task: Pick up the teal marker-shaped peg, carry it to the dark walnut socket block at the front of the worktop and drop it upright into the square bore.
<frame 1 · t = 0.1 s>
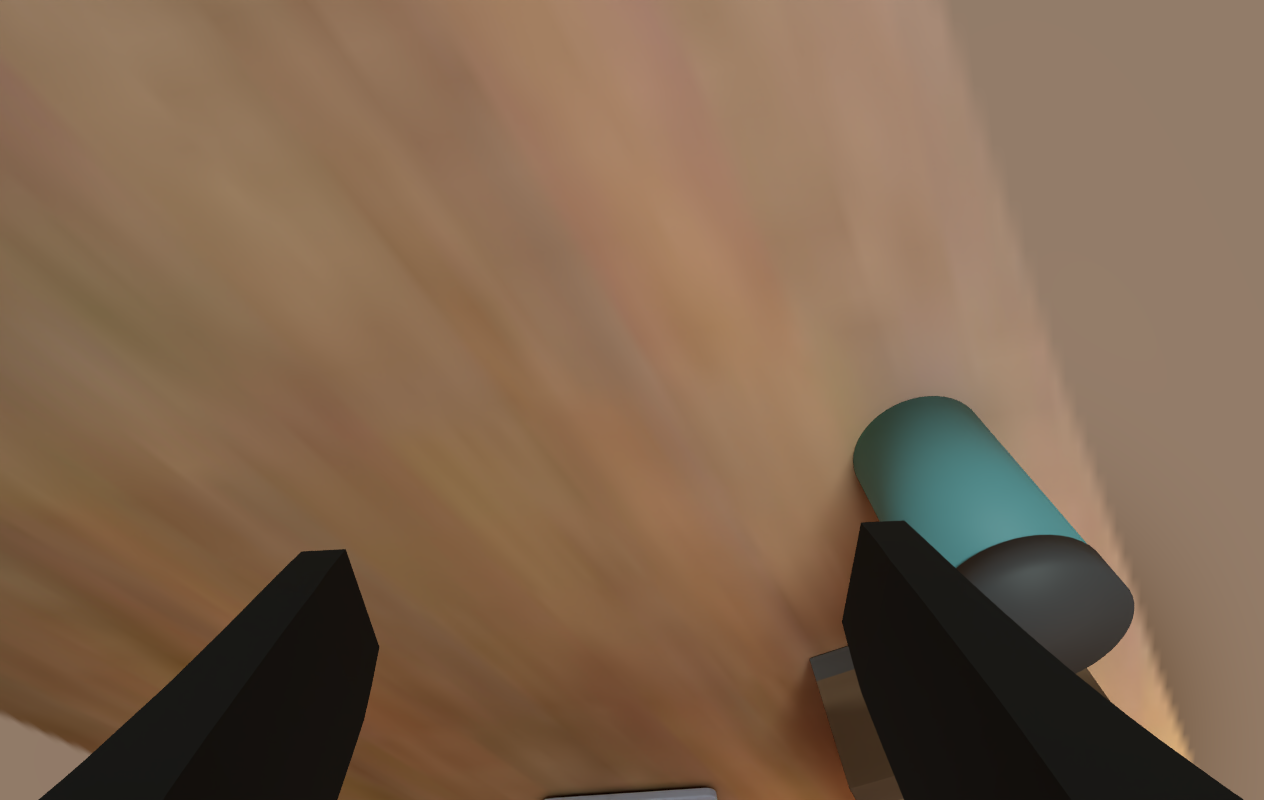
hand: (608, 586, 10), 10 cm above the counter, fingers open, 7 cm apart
socket: (939, 685, 28), on the counter
peg: (917, 450, 21), on the counter
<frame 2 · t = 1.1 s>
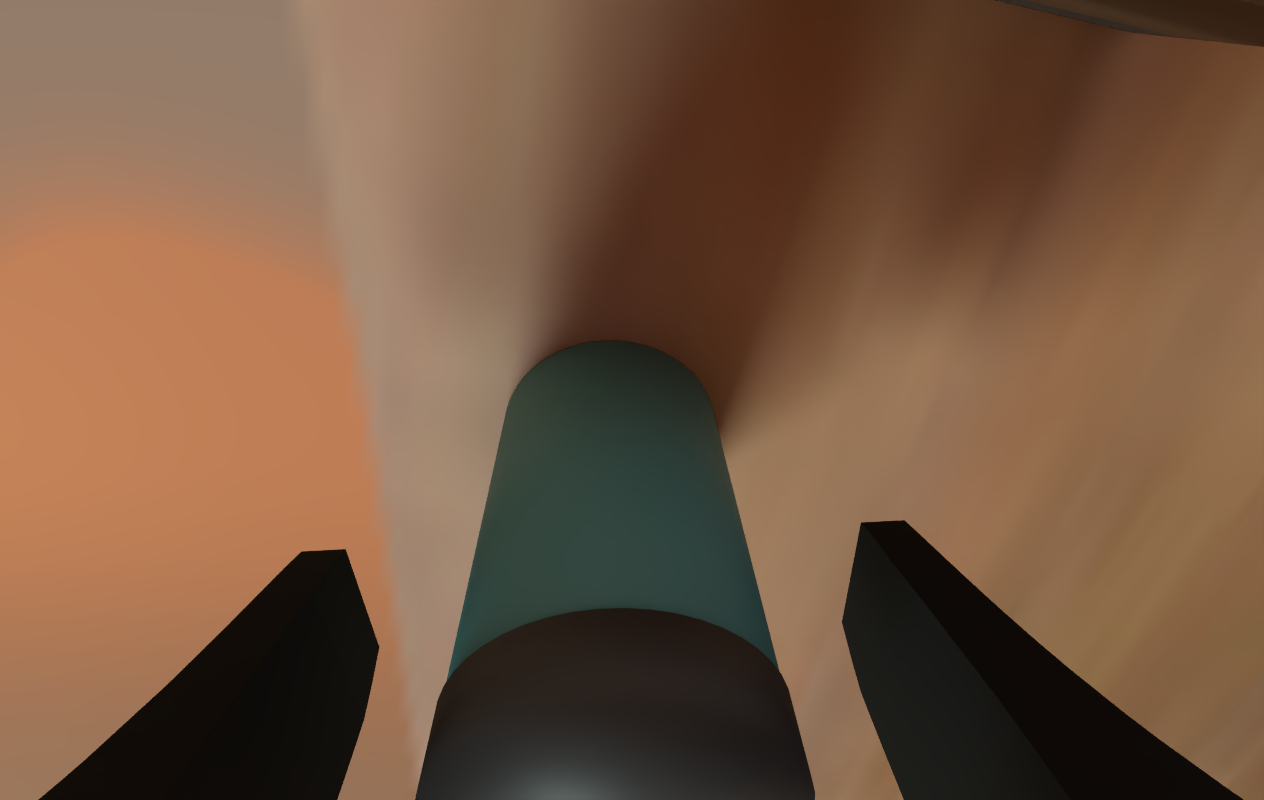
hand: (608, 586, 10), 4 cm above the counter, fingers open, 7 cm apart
peg: (610, 434, 13), on the counter
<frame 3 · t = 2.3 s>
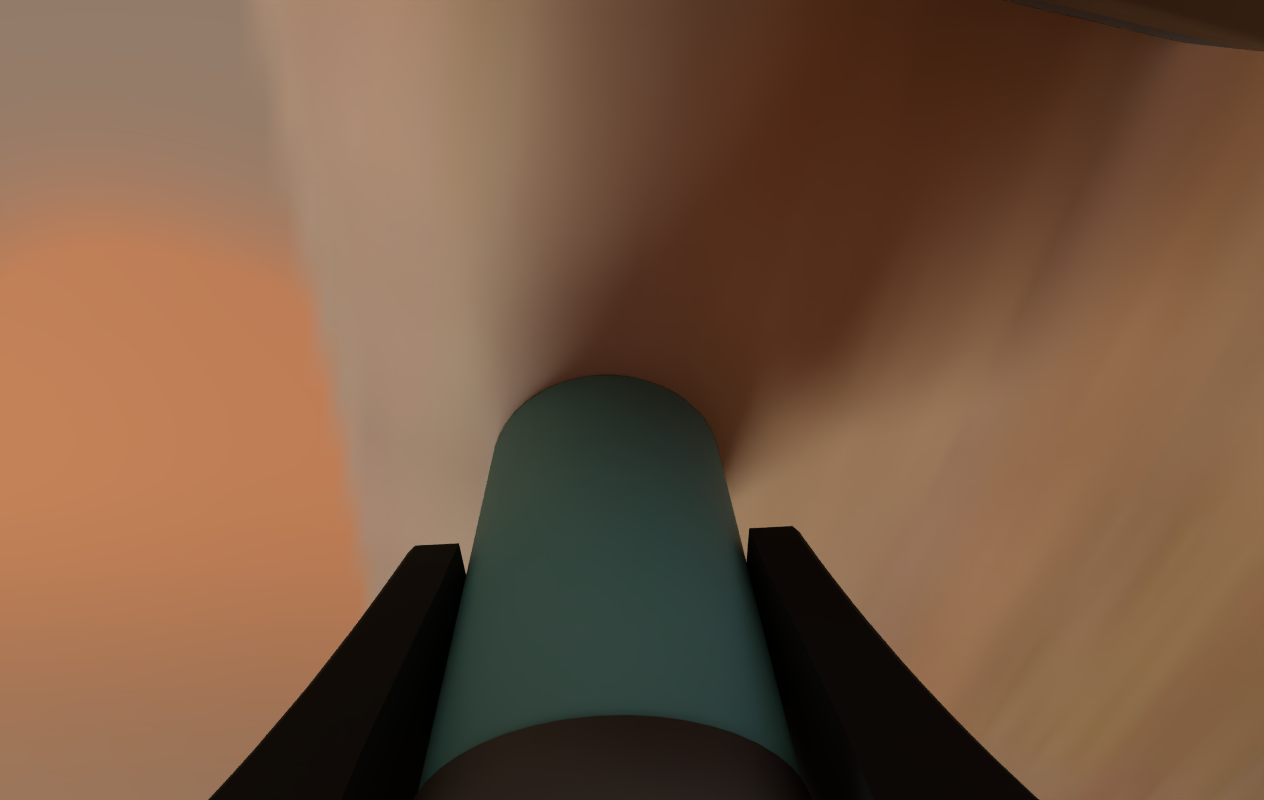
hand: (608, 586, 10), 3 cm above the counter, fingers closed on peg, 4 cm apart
peg: (606, 473, 12), on the counter, touching gripper
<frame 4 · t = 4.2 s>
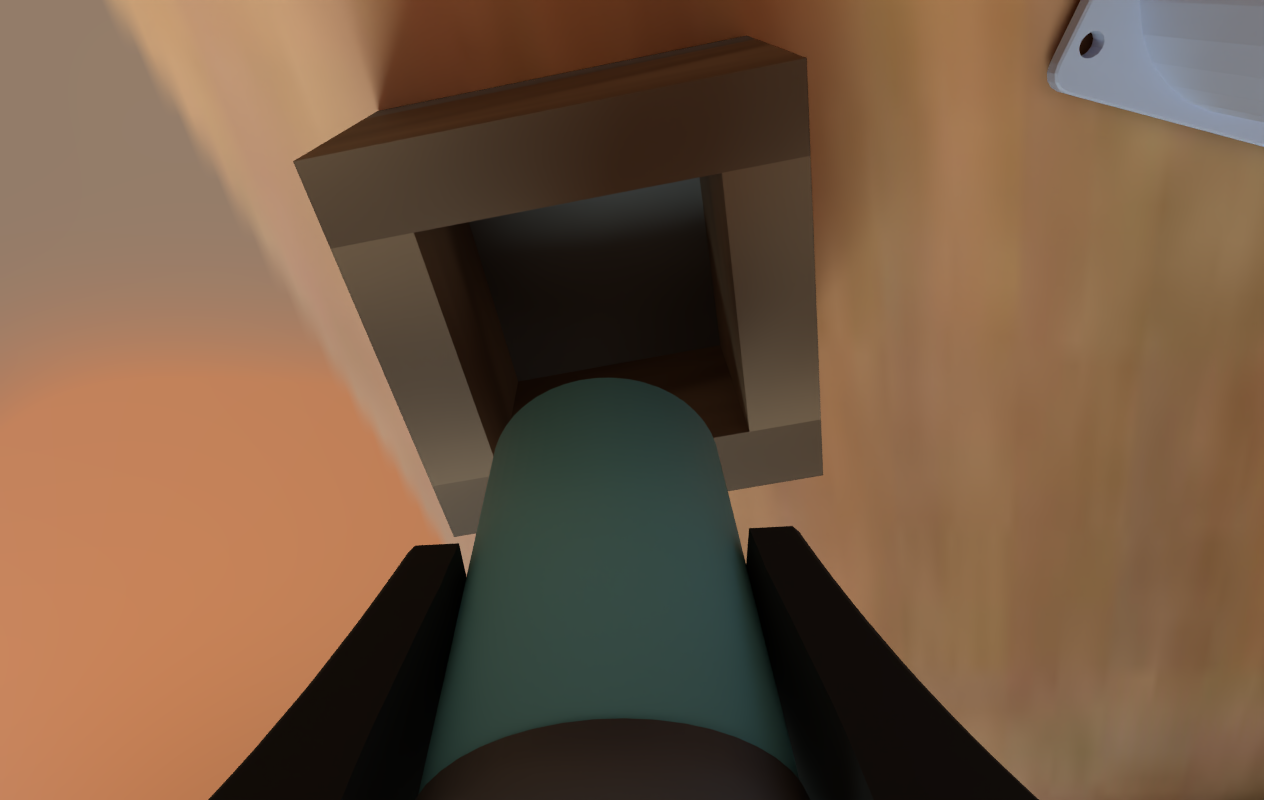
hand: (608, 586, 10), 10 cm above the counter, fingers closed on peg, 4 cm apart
socket: (597, 253, 17), on the counter
peg: (606, 475, 12), point 7 cm above the counter, touching gripper
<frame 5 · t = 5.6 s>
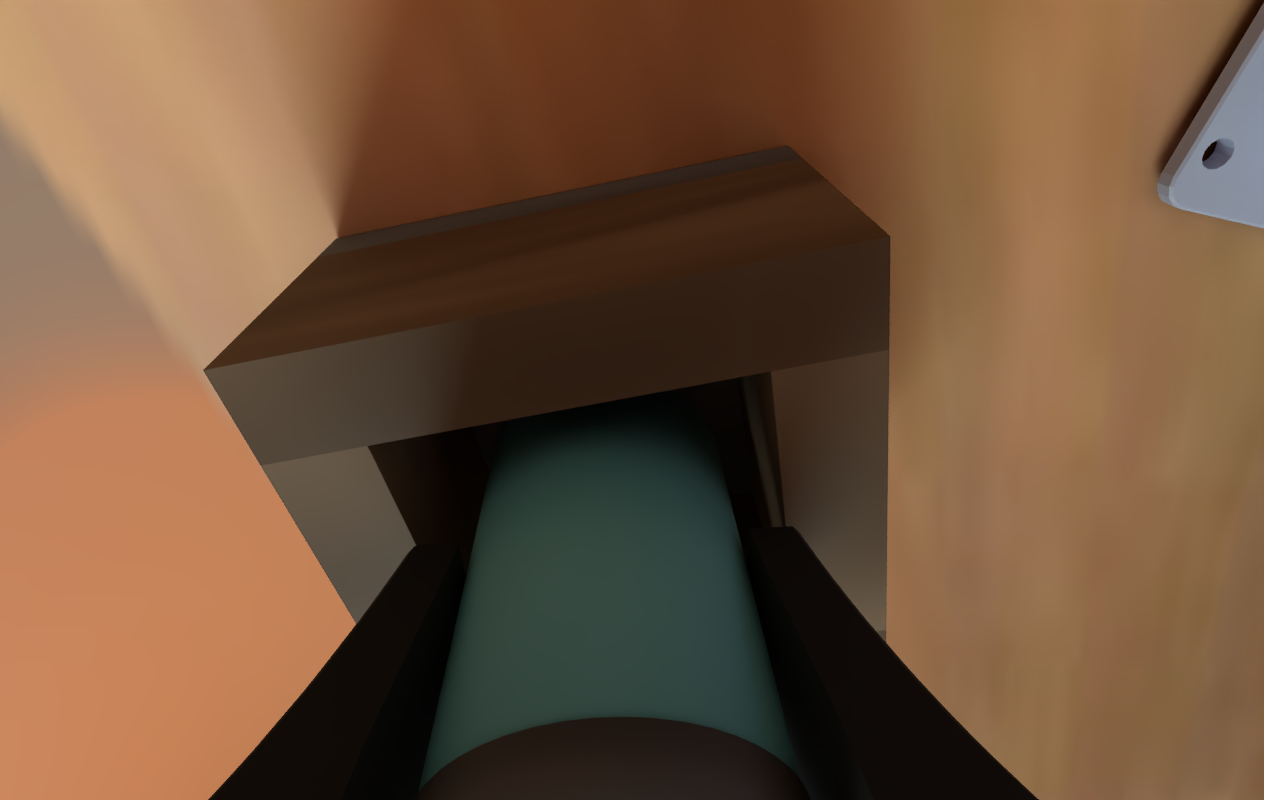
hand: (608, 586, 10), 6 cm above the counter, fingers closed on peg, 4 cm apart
socket: (605, 388, 15), on the counter
peg: (606, 474, 12), point 3 cm above the counter, touching gripper
when the fingers open (6 cm above the counter, at t = 6.5 s): peg drops 2 cm, resting on socket.
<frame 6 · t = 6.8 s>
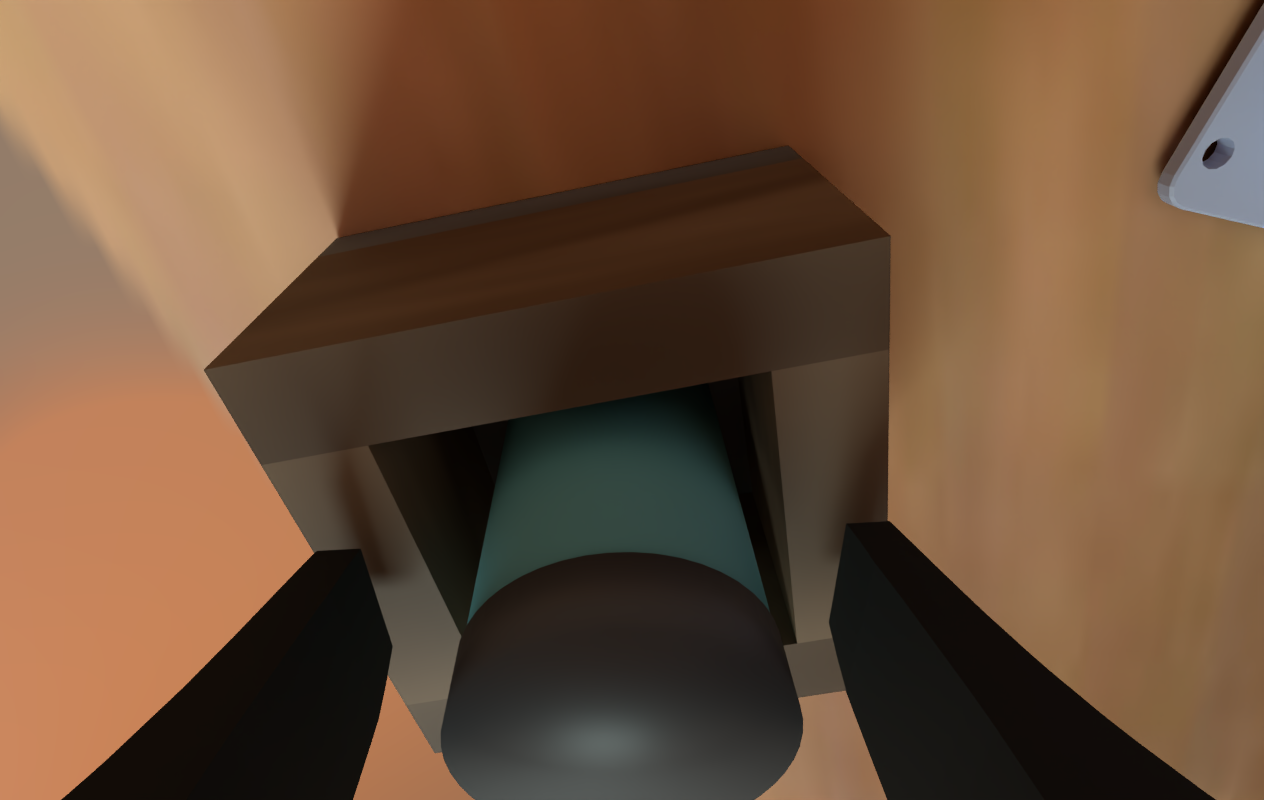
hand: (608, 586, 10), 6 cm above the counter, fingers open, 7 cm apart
socket: (605, 387, 15), on the counter
peg: (612, 413, 14), point 1 cm above the counter, touching socket
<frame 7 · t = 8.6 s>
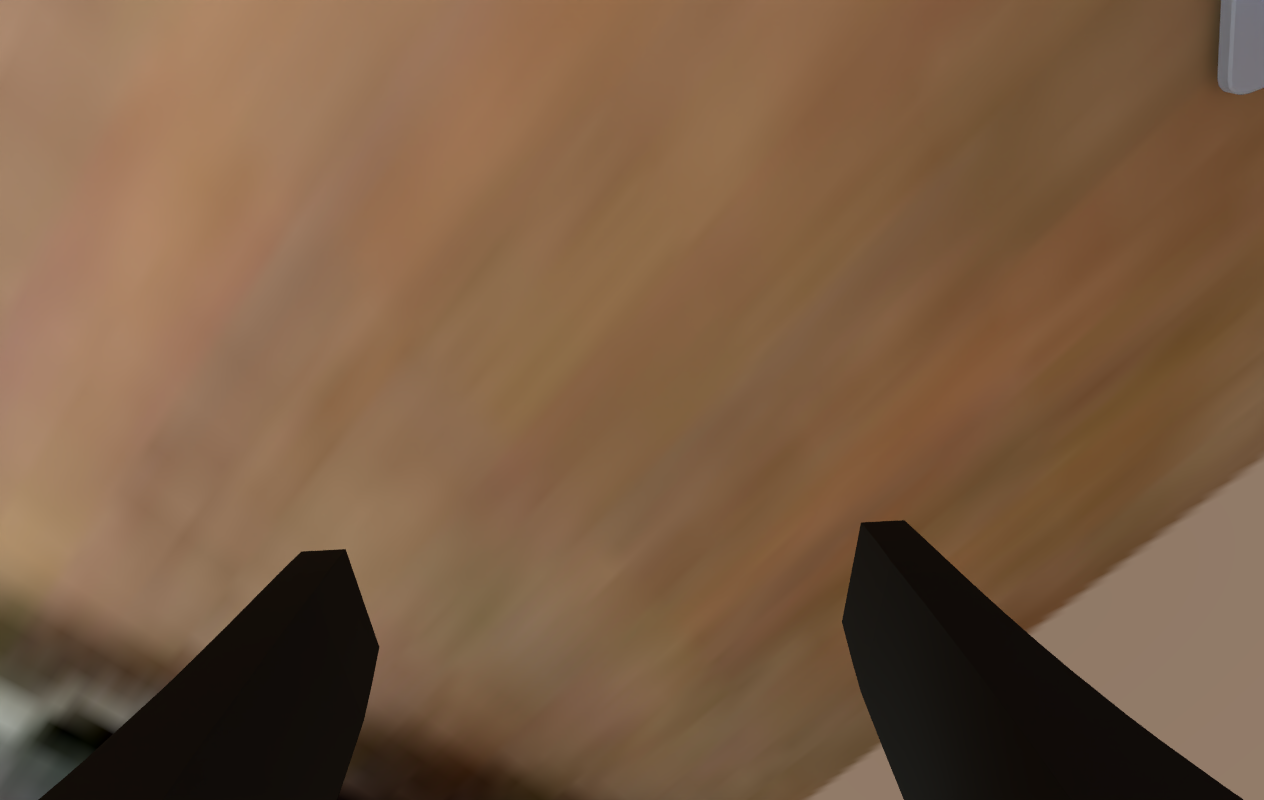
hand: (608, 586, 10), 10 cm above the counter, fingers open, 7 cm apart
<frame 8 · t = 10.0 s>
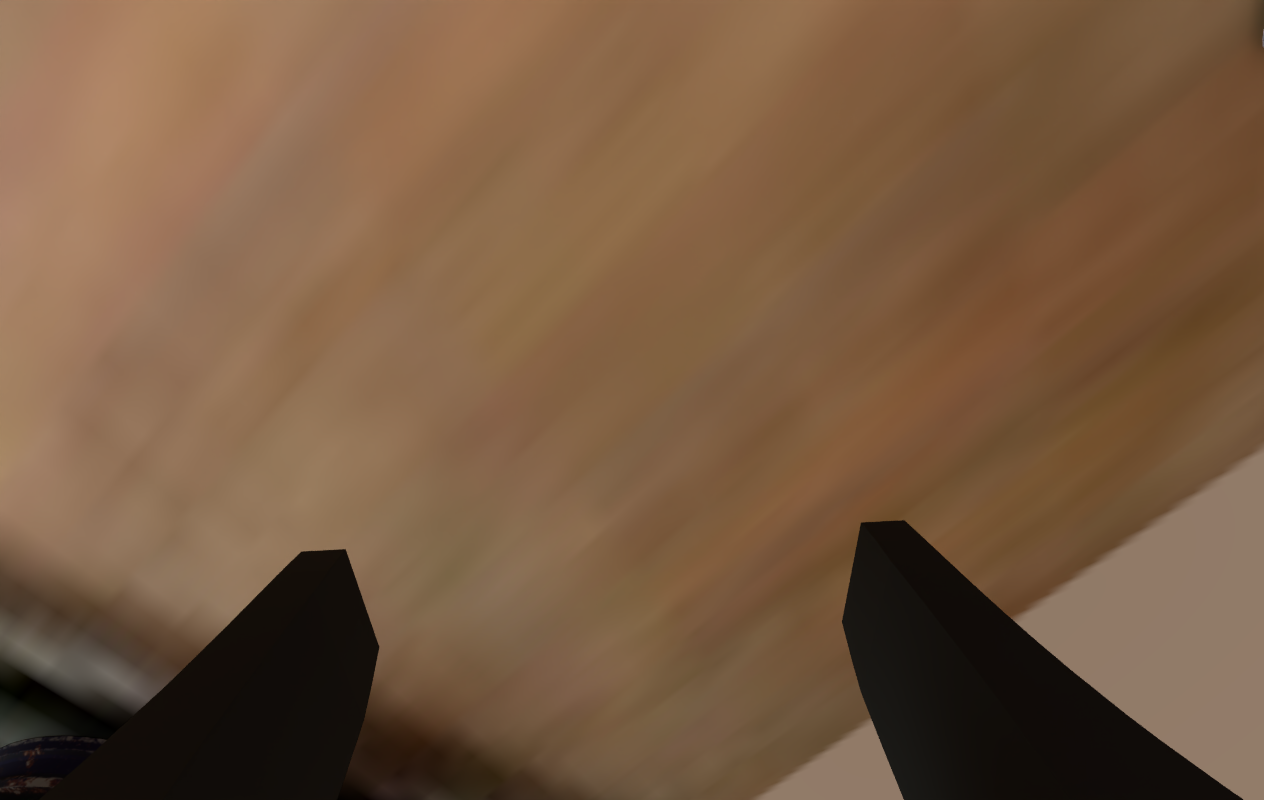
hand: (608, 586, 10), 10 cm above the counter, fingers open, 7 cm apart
storage jar: (107, 797, 30), on the counter
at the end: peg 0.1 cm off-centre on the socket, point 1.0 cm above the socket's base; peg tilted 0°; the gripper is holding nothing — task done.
